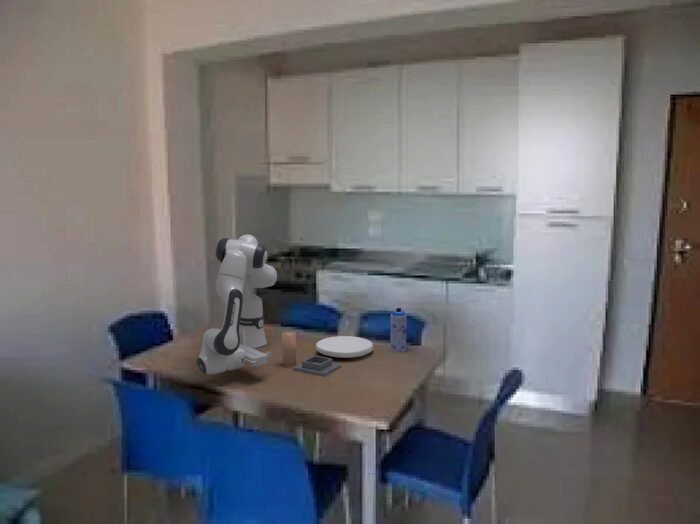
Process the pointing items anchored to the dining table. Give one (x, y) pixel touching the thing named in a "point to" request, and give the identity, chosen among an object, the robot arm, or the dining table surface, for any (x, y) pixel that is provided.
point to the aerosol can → (398, 331)
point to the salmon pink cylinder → (289, 348)
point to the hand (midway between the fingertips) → (265, 350)
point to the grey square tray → (317, 366)
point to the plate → (344, 346)
